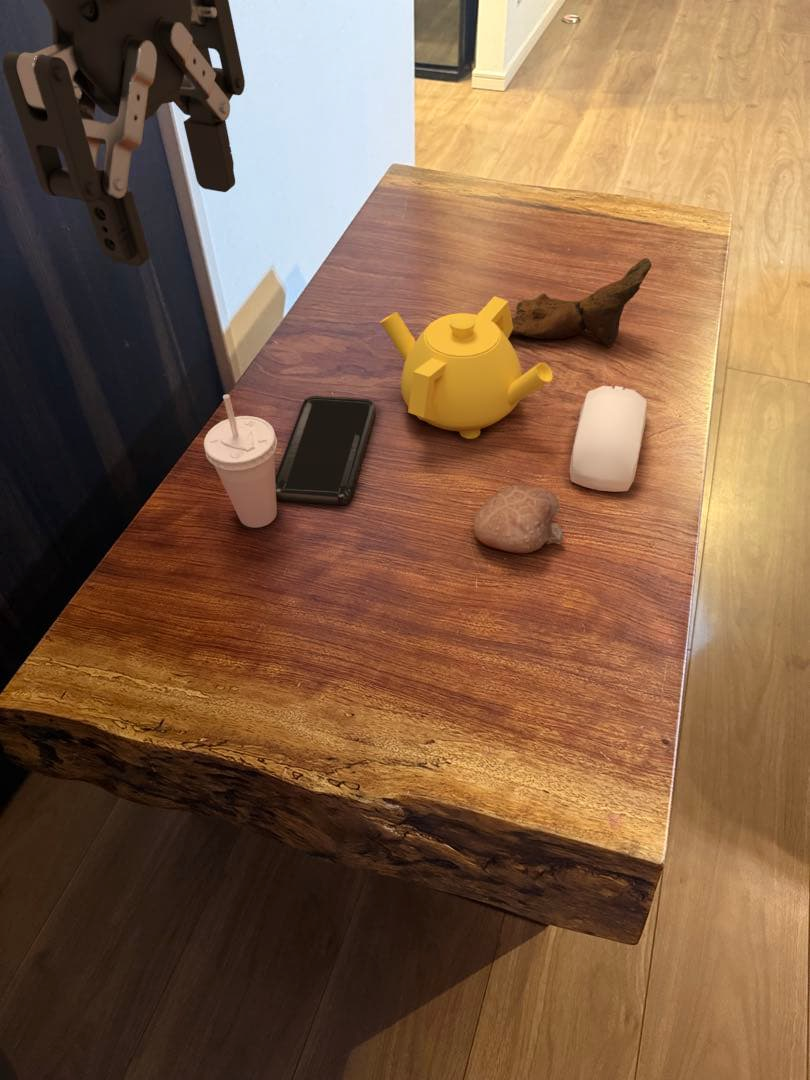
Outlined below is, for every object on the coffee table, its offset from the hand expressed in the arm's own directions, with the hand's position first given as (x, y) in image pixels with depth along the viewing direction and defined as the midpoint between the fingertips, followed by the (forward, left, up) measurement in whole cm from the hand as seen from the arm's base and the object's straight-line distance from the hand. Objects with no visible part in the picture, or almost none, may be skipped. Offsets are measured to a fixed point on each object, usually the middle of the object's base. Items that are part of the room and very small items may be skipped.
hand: (176, 222), depth 46 cm
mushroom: (+23, -6, -36) cm, 43 cm away
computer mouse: (+37, -3, -36) cm, 52 cm away
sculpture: (+48, +14, -36) cm, 62 cm away
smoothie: (+5, +12, -36) cm, 39 cm away
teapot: (+30, +12, -36) cm, 49 cm away
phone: (+15, +15, -36) cm, 42 cm away
